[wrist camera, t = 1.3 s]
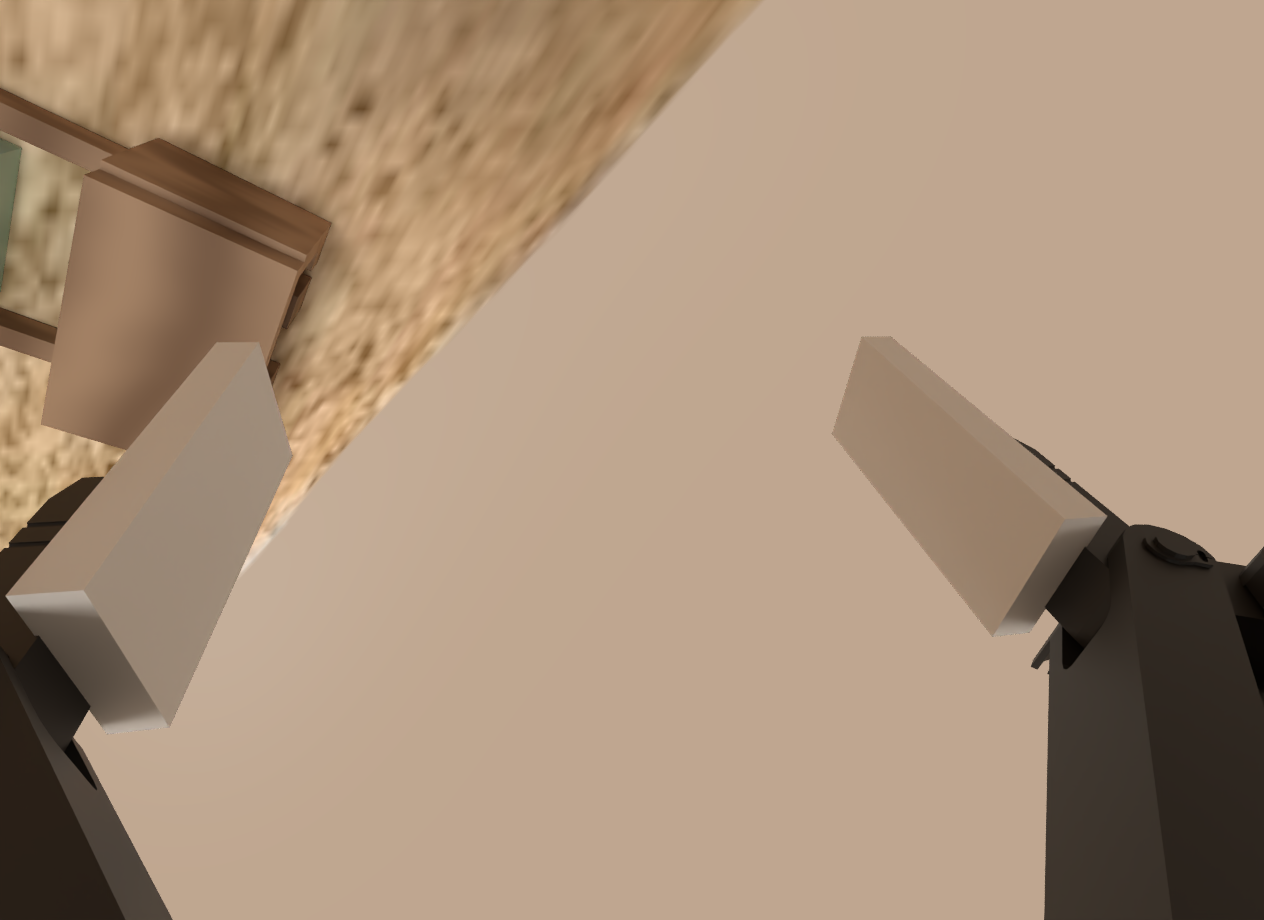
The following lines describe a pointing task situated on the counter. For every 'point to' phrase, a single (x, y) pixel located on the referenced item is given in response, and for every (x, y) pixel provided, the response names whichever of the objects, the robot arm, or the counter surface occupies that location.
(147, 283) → the overhang
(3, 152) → the tile
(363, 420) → the counter surface
